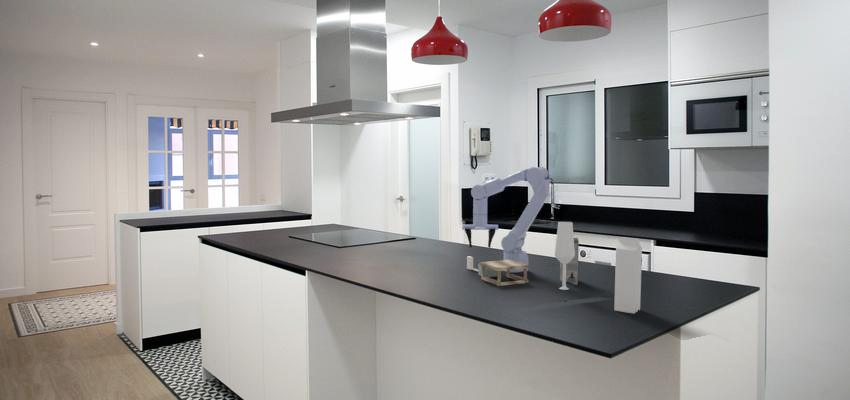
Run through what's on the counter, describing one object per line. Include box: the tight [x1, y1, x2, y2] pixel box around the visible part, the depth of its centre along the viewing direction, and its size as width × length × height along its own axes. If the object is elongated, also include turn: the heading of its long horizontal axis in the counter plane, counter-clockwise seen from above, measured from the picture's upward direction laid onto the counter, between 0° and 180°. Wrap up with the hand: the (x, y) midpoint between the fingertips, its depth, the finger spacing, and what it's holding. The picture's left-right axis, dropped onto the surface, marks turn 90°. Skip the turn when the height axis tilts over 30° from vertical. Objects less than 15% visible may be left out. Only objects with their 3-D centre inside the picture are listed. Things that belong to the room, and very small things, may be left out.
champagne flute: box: [554, 221, 575, 291], centre depth 195 cm, size 7×7×24 cm
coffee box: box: [559, 237, 580, 286], centre depth 211 cm, size 9×6×16 cm
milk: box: [613, 236, 643, 314], centre depth 172 cm, size 6×6×22 cm
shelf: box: [480, 259, 530, 287], centre depth 211 cm, size 13×20×8 cm, turn 26°
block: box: [466, 255, 498, 278], centre depth 223 cm, size 6×18×5 cm, turn 26°
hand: (479, 247), depth 234 cm, fingers open, 7 cm apart
